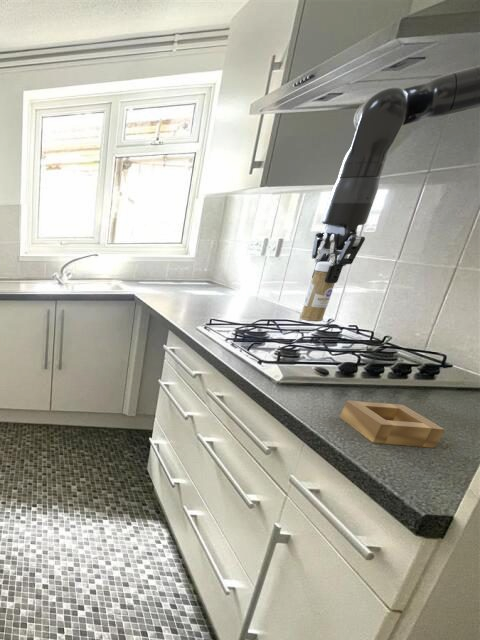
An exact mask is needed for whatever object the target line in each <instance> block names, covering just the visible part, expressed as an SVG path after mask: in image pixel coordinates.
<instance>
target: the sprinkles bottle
mask: <svg viewBox="0 0 480 640" xmlns="http://www.w3.org/2000/svg"><path fill="white" fill-rule="evenodd" d="M316 263H317V262H316ZM316 263H315V266H316V267H315V266H314V269H315V274H314V276H313V278H312V279H311V283H310V285H309V288H308V291H307V294H306V297H305V300H304V304H303V307H302V310H301V313H300V315H299V318H300V319H301V320H303V321H307V322H322V321H323V320H324V317H325V313H326V310H327V308H328V305H329V303H330V300H331V297H332V293H333V290H334V287H335V284H336V283H326V282H325V278H326V275H327V273H328V270H329V267H330V266H331V261H329V262H318V263H317V264H316Z"/></svg>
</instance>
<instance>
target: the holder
mask: <svg viewBox="0 0 480 640" xmlns="http://www.w3.org/2000/svg"><path fill="white" fill-rule="evenodd" d="M339 418H340V419H341V420H342V421H343V422H345V423H346V424H348V425H349V426H350V427H352V429H354V430H355V431H357V432H358V433H359V434H360V435H362V436H363V437H365V438H366V439H367V440H369V442H371V443H372V444H384V445H393V446H394V445H396V446H406V447H419V448H428V449H429V448H431V449H435V448H436V446H438V445H437V444H438V443H439V441H440V439H441V437H442V435H443V433H444V431H446V430H445V428H443V427H441V426H439V425H438V424H436V423H435V422H433V421H432V420H430V419H428V418H427V417H425V416H423V415H421V414H420V413H418V412H416V411H415V410H413V409H411V408H409V407H407V406H405V405H404V404H397V403H386V402H385V403H384V402H371V401H357V400H346V401H345V404H344V407H343V408H342V410H341V413H340V416H339Z"/></svg>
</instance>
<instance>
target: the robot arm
mask: <svg viewBox="0 0 480 640" xmlns="http://www.w3.org/2000/svg"><path fill="white" fill-rule="evenodd" d="M478 108H479V109H480V65H476V66H471V67H469V68H465V69H461V70H458V71H453V72H451V73H446V74H444V75H440V76H437V77H435V78H433V79H431V80H429V81H427V82H424V83H421V84H417V85H413V86H408V87H405V88H401V87H396V86H395V87H394V86H393V87H388V88H384V89H382V90H380V91H378V92H376V93H375V94H373V95H372V96H371V97H369V98H367V99H366V100H365V101H364V102H362V104H360V105H359V107H358V108H357V110H356V112H355V113H354V116H353V126H354V128H355V133H354V137H353V140H352V143H351V146H350V148H349V149H348V150H347V151H346V153H345V155H344V157H343V159H342V161H341V165H340V168H339V171H338V175H337V178H336V181H335V182H334V184H333V187H332V188H331V192H330V195H329V198H328V201H327V205H326V207H325V210H324V214H323V217H322V220H321V223H322V224H323V225H327V226H326V228H325V229H324V231H323V232H322V231H321V232H316V233H315V235H314V241H313V246H312V251H311V259H314V262H315V266H314V270H313V273H312V275H311V278H312V279H313V276H314V274H315V267H316V264H317V263H318V262H331V266H330V267H329V270H328V273H327V275H326V278H325V282H326V283H335V284H337V283H338V281H339V279H340V276H341V273H342V270H343V268H344V267H345V266H347V265H352V264H353V262H354V261H355V259H356V256H357V255H358V253H359V251H360V249H361V248H362V246H363V245H364V242H365V240H366V237H365V236H358V227H359V226H363V225H365V224H366V223H367V221H368V219H369V216H370V213H371V210H372V207H373V204H374V201H375V199H376V196H377V194H378V190H379V186H380V181H381V177H382V174H383V171H384V169H385V166H386V163H387V161H388V156H389V153H390V150H391V148H392V146H393V144H394V143H395V141H396V139H397V138H398V135H399V132H400V131H401V129H402V127H403V126H405V125H409V124H413V123H415V122H419V121H423V120H429V119H435V118H440V117H444V116H445V117H446V116H449V115H453V114H458V113H463V112H466V111H471V110H475V109H478Z"/></svg>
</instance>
